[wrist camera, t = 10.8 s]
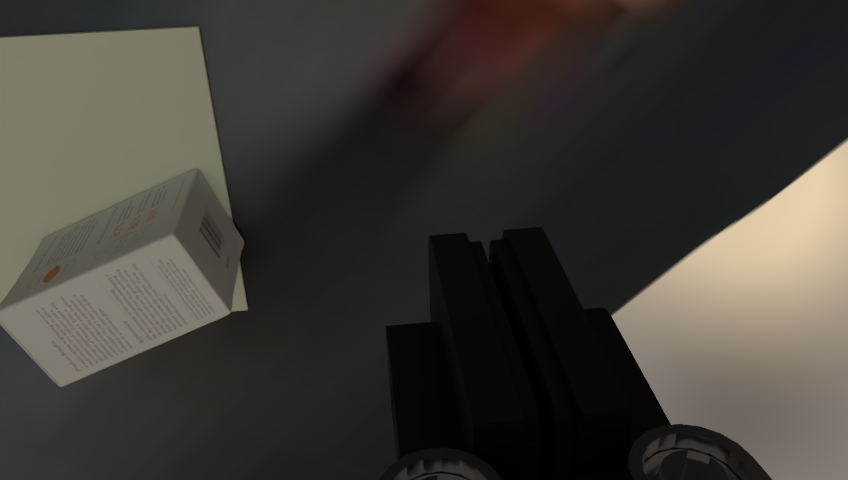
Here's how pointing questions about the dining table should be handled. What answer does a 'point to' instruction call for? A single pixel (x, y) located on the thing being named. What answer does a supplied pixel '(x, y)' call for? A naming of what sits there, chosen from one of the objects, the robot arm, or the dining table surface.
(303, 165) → the dining table surface
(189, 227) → the small box
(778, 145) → the dining table surface
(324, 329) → the dining table surface
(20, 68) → the mat
